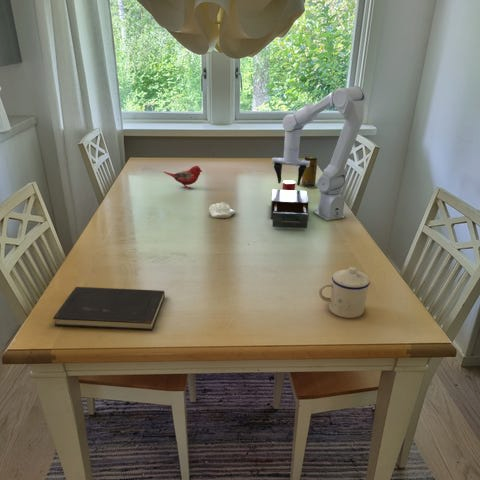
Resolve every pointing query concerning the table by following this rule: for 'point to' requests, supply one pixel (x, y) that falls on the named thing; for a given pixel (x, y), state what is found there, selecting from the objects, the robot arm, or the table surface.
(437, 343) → the table surface
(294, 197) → the cabinet
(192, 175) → the decorative bird figurine
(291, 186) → the can
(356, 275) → the teacup with lid
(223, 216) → the white lumpy piece
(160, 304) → the hardcover book
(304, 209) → the drawer
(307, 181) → the condiment
